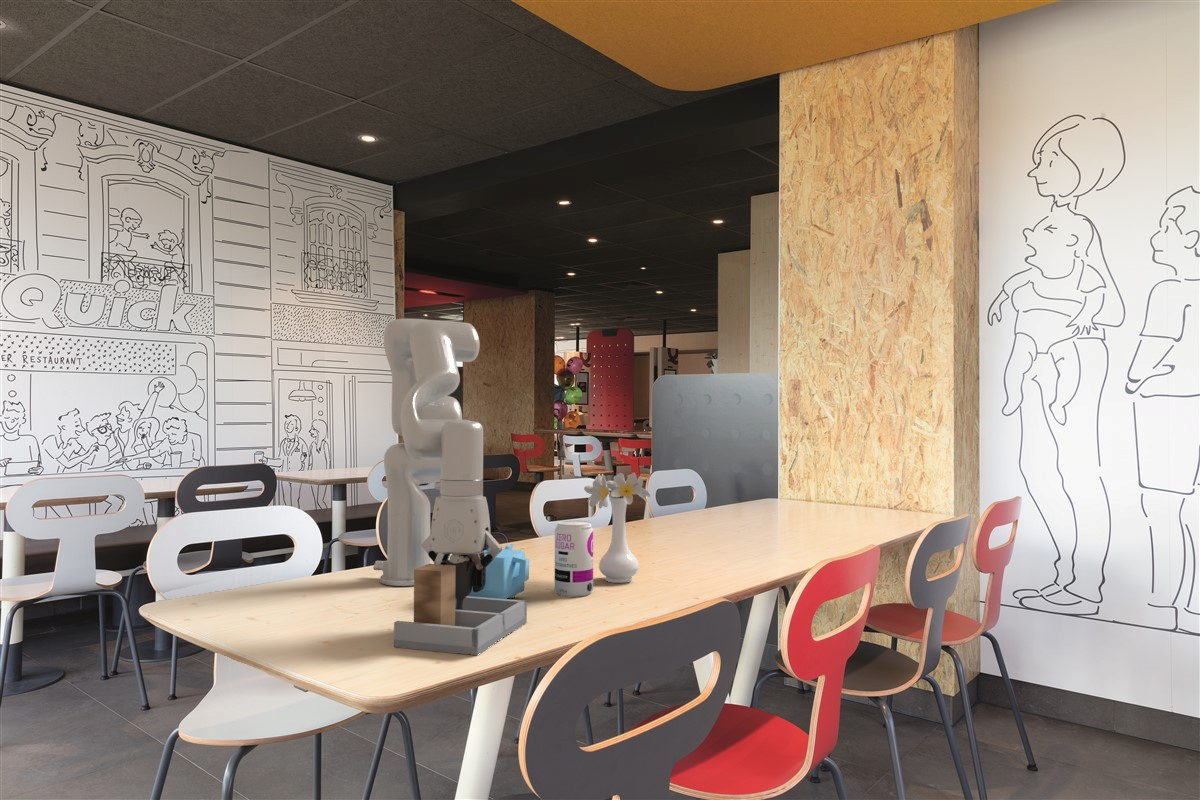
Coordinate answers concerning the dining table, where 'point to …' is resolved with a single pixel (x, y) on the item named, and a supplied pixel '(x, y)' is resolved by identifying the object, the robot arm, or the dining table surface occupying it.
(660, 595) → the dining table surface
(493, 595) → the teapot
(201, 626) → the dining table surface
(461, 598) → the sundae
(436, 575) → the walnut block
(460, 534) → the robot arm
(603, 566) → the flower vase
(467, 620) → the grey divided tray
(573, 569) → the soda can
